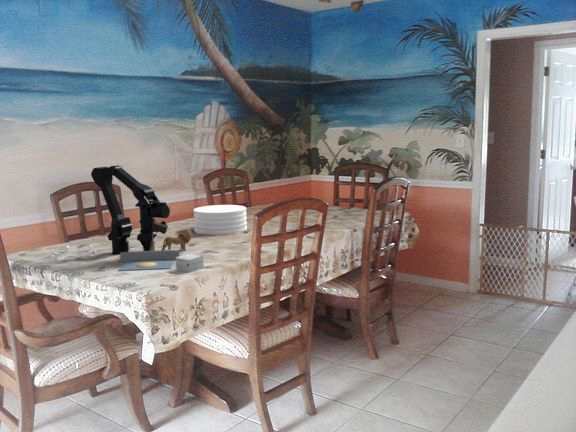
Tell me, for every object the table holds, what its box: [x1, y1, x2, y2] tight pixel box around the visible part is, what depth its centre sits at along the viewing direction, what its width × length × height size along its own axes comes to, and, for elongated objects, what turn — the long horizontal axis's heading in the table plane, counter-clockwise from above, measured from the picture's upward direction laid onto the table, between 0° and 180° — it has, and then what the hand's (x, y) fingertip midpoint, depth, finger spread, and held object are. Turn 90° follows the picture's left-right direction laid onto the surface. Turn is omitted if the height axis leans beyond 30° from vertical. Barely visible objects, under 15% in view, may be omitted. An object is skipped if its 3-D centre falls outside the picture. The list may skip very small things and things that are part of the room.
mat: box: [117, 260, 175, 272], centre depth 223 cm, size 20×12×1 cm, turn 95°
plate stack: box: [193, 204, 248, 236], centre depth 297 cm, size 28×28×12 cm
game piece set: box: [49, 244, 97, 261], centre depth 245 cm, size 19×20×4 cm
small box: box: [175, 253, 205, 273], centre depth 217 cm, size 8×8×5 cm
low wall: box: [119, 249, 181, 263], centre depth 232 cm, size 24×1×4 cm, turn 95°
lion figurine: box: [160, 229, 192, 251], centre depth 249 cm, size 15×5×9 cm, turn 120°
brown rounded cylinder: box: [142, 240, 156, 251], centre depth 241 cm, size 5×5×6 cm
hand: (149, 252), depth 241 cm, fingers closed on brown rounded cylinder, 5 cm apart
